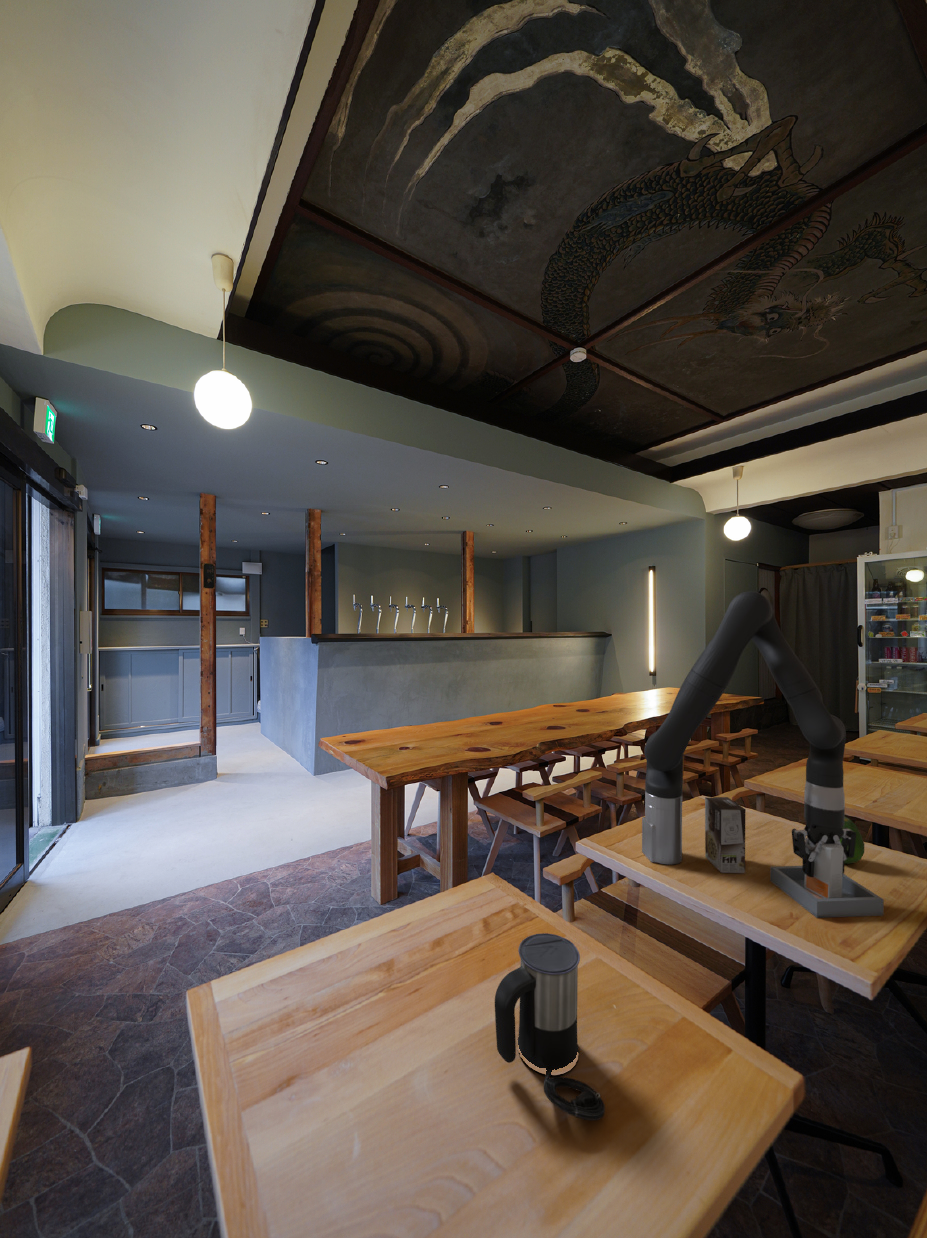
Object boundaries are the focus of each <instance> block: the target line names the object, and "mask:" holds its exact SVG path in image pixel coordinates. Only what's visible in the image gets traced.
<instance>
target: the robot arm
mask: <svg viewBox="0 0 927 1238" xmlns="http://www.w3.org/2000/svg"><path fill="white" fill-rule="evenodd" d="M750 641H752V642H753V643H754V644H755V646H756V647H757V648H758V650H759V652H760V654H761V655H762V658H763V659H764V661H765V663H766V665H767V668H768V669H769V672H770V674H771V676H772V679H774V682H775V683H776V685H777V687H778V688H779V690H780V692H781V693H782V695H783V697H784V698H785V700H786V702H787V703H788V704H789V706H790V708H791V709H792V712H793V716H794V718H795V720H796V722H797V724H798V727H799V729H800V731H801V733H802V735H803V736H804V738H805V739H806V740H807V741H808V743H809V754H808V756H807V759H806V763H805V764H806V765H805V786H804V797H803V798H804V799H803V800H804V801H803V802H804V803H803V804H804V806H803V807H804V809H803V811H804V812H803V818H804V821H805V826H804V828H803V829H799V830H798V829H797V828H792V829H791V837H792V839H791V840H792V850H793V854H794V855H795V856H797V857H799V858H801V859H802V861H801V862H802V865H801V866H802V870H803V872H804V873H805V874H806V875H807V876H809V877H814V861H813V860H814V858H815V856H816V854H818V853H819V852H820V851H821V849H822V846H823V845H824V844H835V845H840V846H843V872H842V876H843V874H845V864H846V863H845V860H846V859H847V858H848V857H850V858H853V857H854V852H855V843H856V832H854V831H852V830H850V829H848V828H846V827H845V828H843V827H844V817H845V815H846V814H845V808H846V806H845V802H846V801H845V799H846V795H845V791H844V790H845V789H844V756H845V748H846V739H847V738H846V737H847V732H846V727H845V724H844V722H843V721H842V720H841V719H840V718H838V717H837V716H835V715H834V714H830V712H829V710H828V708H827V707H826V706H825V704H824V702H823V694H822V692H821V691H820V688H819V687H818V686H817V684H816V683H815V681H814V679H813V678H812V676H811V674H810V673H809V672H808V670H807V669H806V667H805V665H804V664H803V663H802V661H801V660H800V659H799V657H798V655H797V654H796V653H795V651H794V650H793V649H792V648H791V646H790V645H789V643H788V641H787V640H786V638H785V636H784V635H783V632H782V631H781V628H780V626H779V624H778V621H777V619H776V616H775V613H774V609H773V606H772V603H771V602H770V600H769V599H768V598H767V597H766V596H765V595H763V594H762V593H760V592H757V591H754V590H753V591H752V590H751V591H749V590H748V591H744V592H741V593H739V594H737V595H735V596H734V598H733V599H732V600H731V601H730V602H729V605H728V606H727V609H726V610H725V614H724V616H723V618H722V620H721V622H720V624H719V626H718V628H717V630H716V632H715V634H714V636H713V637H712V638H711V640H710V642H709V643H708V644H707V645H706V647H705V648H704V650H702V652H701V654H700V655H699V656H698V658H697V660H696V661H695V662H694V664H693V666H692V667H691V669H690V670H689V672H688V673H687V674H686V676H685V678H684V680H683V682H682V684H681V686H680V687H679V690H678V692H677V693H676V696H675V698H674V701H673V704H672V706H671V709H670V711H669V713H668V714H667V717H666V718H665V719H664V721H663V722H662V723H661V725H660V726H659V728H658V729H657V730H656V731H655V732H653V733H652V734H651V735H649V737H648V739H647V741H646V743H645V745H644V757H645V758H644V759H646V771H645V784H644V786H645V787H644V791H645V792H644V793H645V795H644V796H645V797H644V800H645V801H644V804H645V805H644V806H645V807H644V810H645V811H644V816H642V817H641V818H642V820H641V824H642V825H641V852H642V853H643V855H645V857H646V859H648V860H649V861H650V863H658V864H662V865H668V866H669V865H678V864H680V863H681V862H682V861H683V860H682V859H683V787H684V786H683V785H684V784H683V783H684V754H685V752H686V749H687V747H688V745H689V743H690V741H691V739H692V737H693V735H694V734H695V732H696V730H697V729H699V726H700V725H701V724H702V723H703V722H704V720H705V719H707V717H708V716H709V714H710V713H711V711H712V710H713V709H714V708H715V706H716V704H717V703H718V701H720V699H721V697H722V696H723V694H724V693H725V691H726V689H727V687H728V686H729V684H730V682H731V680H732V678H733V676H734V674H735V671H736V669H737V666H738V663H739V661H740V658H741V656H742V654H743V652H744V651H745V649H746V647H747V645H748V644H749V642H750ZM841 838H842V842H841V843H840V839H841ZM809 840H810V841H811V843H812V844H814V845H815V847H812V846H810V844H809ZM847 848H848V850H847ZM810 850H811V851H810ZM809 851H810V853H809ZM808 853H809V854H808Z"/></svg>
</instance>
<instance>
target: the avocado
mask: <svg viewBox="0 0 927 1238" xmlns="http://www.w3.org/2000/svg"><path fill="white" fill-rule="evenodd" d="M845 827H846V828H848V829H850V830H852V831H854V832H856V843H855V852H854V857H853V858H850V857H848V858H847V859H846V860H845V863H844V864H847V865H848V864H855V863H858V862H860V860H862V858H863V857H864V854H865V842H864V840H863V836H862V834H861V832H860V830H859V828H858V826H857V825H856V824H855V822H853V820H852V819H850V818H848V817H847V816H844V827H843V828H845ZM841 842H842V838H841V839H840V843H841ZM847 850H848V848H847Z"/></svg>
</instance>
